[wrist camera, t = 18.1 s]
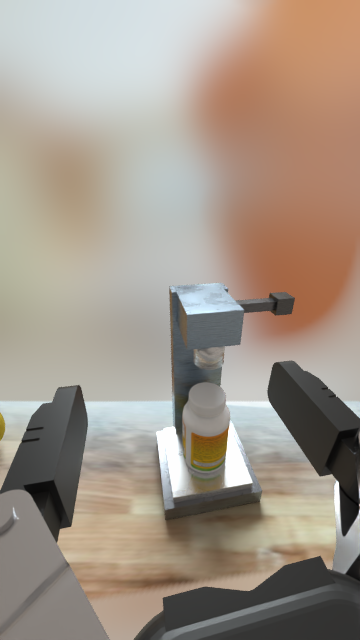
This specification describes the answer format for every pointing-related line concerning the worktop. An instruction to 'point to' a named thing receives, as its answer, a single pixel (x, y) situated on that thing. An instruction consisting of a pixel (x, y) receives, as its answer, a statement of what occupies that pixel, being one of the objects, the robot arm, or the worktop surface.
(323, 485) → the worktop surface
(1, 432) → the lemon
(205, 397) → the supplement bottle
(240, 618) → the robot arm
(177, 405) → the arbor press
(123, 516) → the worktop surface
